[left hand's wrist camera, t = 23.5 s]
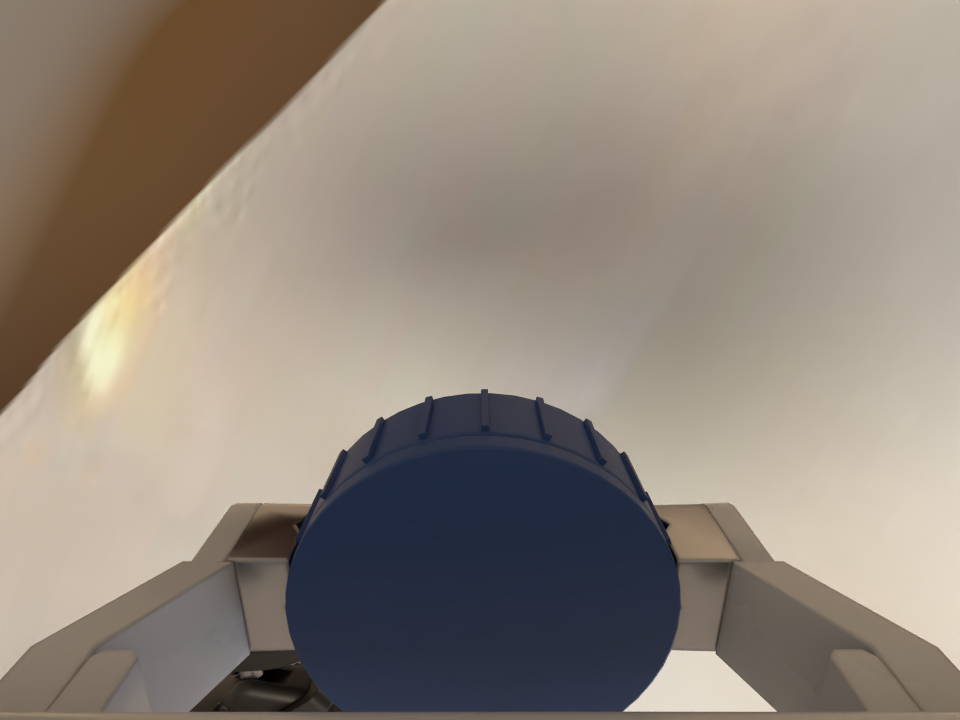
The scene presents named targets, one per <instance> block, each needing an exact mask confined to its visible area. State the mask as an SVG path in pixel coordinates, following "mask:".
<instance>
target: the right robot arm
mask: <svg viewBox="0 0 960 720" xmlns="http://www.w3.org/2000/svg"><path fill="white" fill-rule="evenodd" d="M298 661H300V659H299V657H298V655H297V653H296V651H295V650H275V651H250V655H249V656H247V657H246V658H245V659H244V660H243V661H242V662H241V663H240V664H239V665H238V666H237V667H236V668H235V669H234V670H233V671H232V672H230V673H229V674H228V675H227V676H226V677H225V678H224V679H223V680H222V681H221V682H220V683H219V684H218V685H217V686H216V687H215V688H214V689H212V690H211V691H210V692H209V693H208V694H207V695H206V696H205V697H204V698H203V699H202V700H201V701H200V702H199V703H198V704H197V705H196V706H194V707H193V708H192V709H191V710H190V711H189V712H343V711H342V710H341V709H340V708H338V707H337V706H336V705H335V704H334V703H332V702H331V701H330V700H329V699H328V697H327V696H326V695H325V694H324V693H323V692H322V691H321V690H320V689H319V688H318V687H317V686H316V684H315V683H314V681H313V680H312V679H311V677H310V676H309V675H308V673H307V672H306V670H305V669H304V667H303V665H302V663H301V664H298V663H297V664H295V665H289V664H292V663H295V662H298Z"/></svg>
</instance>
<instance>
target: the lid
mask: <svg viewBox="0 0 960 720" xmlns="http://www.w3.org/2000/svg"><path fill="white" fill-rule="evenodd" d="M295 541H296V542H299V544H298V547H297V549H296V551H295V554H294V557H293V560H292V563H291V566H290V569H289V572H288V579H287V585H286V591H285V600H286V617H287V623H288V629H289V634H290V637H291V640H292V643H293V645H294V648H295V651H296V653H297V655H298V657H299V659H300V661H301V663H302V665H303V667H304V669H305V670H306V672H307V673H308V675H309V676H310V677H311V679H312V680H313V681H314V683H315V684H316V686H317V687H318V688H319V689H320V690H321V691H322V692H323V693H324V694H325V695H326V696H327V697H328V699H329V700H330V701H331V702H332V703H334V704H335V705H336V706H337V707H338V708H340V709H341V710H342V711H343V712H623V711H624V710H625V709H626V708H627V707H629V706H630V705H631V704H632V703H633V702H634V701H635V700H637V699H638V698H639V697H640V695H641V694H642V693H643V692H644V691H645V690H646V689H647V688H648V686H649V685H650V684H651V683H652V682H653V680H654V679H655V677H656V676H657V674H658V673H659V671H660V670H661V668H662V667H663V665H664V663H665V661H666V659H667V657H668V655H669V653H670V651H671V649H672V646H673V643H674V640H675V636H676V633H677V630H678V625H679V617H680V610H681V594H680V582H679V577H678V573H677V568H676V564H675V561H674V559H673V556H672V554H671V551H670V549H669V546H668V545H671V544H672V543H671V540H670V538H669V535H668V533H667V531H666V529H665V527H664V525H663V523H662V521H661V519H660V517H659V515H658V513H657V511H656V509H655V507H654V505H653V503H652V501H651V499H650V497H649V495H648V493H647V492H645V491H644V489H643V486H642V484H641V482H640V480H639V478H638V476H637V474H636V472H635V470H634V468H633V466H632V464H631V462H630V460H629V458H628V455H627V454H626V453H625V452H622V453H621V454H620V453H619V452H618V451H617V450H616V448H615V447H614V446H613V445H612V444H611V443H610V442H609V441H608V440H606V439H605V438H604V437H603V436H602V435H601V434H600V433H599V432H598V431H596V430H595V429H594V427H593V424H592V422H591V421H590V420H588V419H585V421H584V422H583V421H582V420H580V419H579V418H577V417H575V416H573V415H571V414H569V413H567V412H565V411H563V410H561V409H559V408H556V407H553V406H550V405H548V404H545V403H544V400H543V398H540V397H537V398H536V400H531V399H527V398H522V397H518V396H512V395H503V394H493V393H488V390H487V389H481V393H480V394H462V395H455V396H447V397H442V398H438V399H435V400H433V398H432V396H429V397H426V399H425V402H423V403H420V404H417V405H415V406H413V407H410V408H408V409H405V410H403V411H400V412H398V413H396V414H395V415H393V416H391V417H389V418H388V419H386V420H384V419H383V418H382V417H381V418H379V419H377V421H376V424H375V426H374V428H372V429H371V430H370V431H368V432H367V433H366V434H364V435H363V436H362V437H361V438H360V439H359V440H358V441H357V442H356V443H355V444H354V445H353V446H352V447H351V448H350V449H349V450H348V451H345V450H344V449H343V450H342V451H341V452H340V454H339V456H338V458H337V460H336V462H335V465H334V467H333V469H332V471H331V473H330V475H329V477H328V479H327V482H326V484H325V486H324V488H323V490H321V489H319V491H318V493H317V495H316V497H315V499H314V501H313V503H312V505H311V507H310V509H309V512H308V514H307V516H306V518H305V520H304V522H303V524H302V526H301V528H300V530H299V532H298V535H297V537H296V540H295Z"/></svg>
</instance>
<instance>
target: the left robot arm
mask: <svg viewBox="0 0 960 720" xmlns="http://www.w3.org/2000/svg"><path fill="white" fill-rule="evenodd" d="M311 505H312V504H274V503H264V504H262V503H237V504H234V505H232V506H231V507H230V508H229V509H228V511H227V512H226V514H225V515H224V516H223V518H222V519H221V521H220V522H219V523H218V525H217V526H216V528H215V529H214V530H213V532H212V533H211V535H210V536H209V537H208V539H207V540H206V542H205V543H204V544H203V546H202V547H201V549H200V550H199V551H198V553H197V554H196V556H195V557H194V559H193V560H192V561H188V562H181V563H179V564H177V565H176V566H174V567H172V568H170V569H168V570H167V571H165V572H163V573H161V574H160V575H158V576H156V577H154V578H152V579H151V580H149V581H147V582H145V583H143V584H142V585H140V586H138V587H136V588H135V589H133V590H131V591H129V592H127V593H126V594H124V595H122V596H120V597H119V598H117V599H115V600H113V601H111V602H110V603H108V604H106V605H104V606H102V607H101V608H99V609H97V610H95V611H94V612H92V613H90V614H88V615H86V616H85V617H83V618H81V619H79V620H77V621H76V622H74V623H72V624H70V625H69V626H67V627H65V628H63V629H61V630H60V631H58V632H56V633H54V634H52V635H51V636H49V637H47V638H45V639H44V640H42V641H40V642H38V643H36V644H35V645H33V646H31V647H30V648H29V649H28V650H27V651H26V653H25V654H24V655H23V656H22V657H21V658H20V659H19V660H18V661H17V662H16V664H15V665H14V666H13V667H12V668H11V669H10V670H9V671H8V672H7V673H6V674H5V676H4V677H3V678H2V679H1V680H0V720H960V671H959V670H958V669H957V668H956V667H955V665H954V664H953V663H952V662H951V661H950V660H949V659H948V658H947V657H946V656H945V655H944V654H943V652H942V651H941V650H940V649H939V648H938V647H936V646H934V645H933V644H931V643H929V642H927V641H925V640H924V639H922V638H920V637H918V636H916V635H915V634H913V633H911V632H909V631H907V630H906V629H904V628H902V627H900V626H898V625H897V624H895V623H893V622H891V621H889V620H888V619H886V618H884V617H882V616H880V615H879V614H877V613H875V612H873V611H871V610H870V609H868V608H866V607H864V606H862V605H861V604H859V603H857V602H855V601H854V600H852V599H850V598H848V597H846V596H845V595H843V594H841V593H839V592H837V591H836V590H834V589H832V588H830V587H828V586H827V585H825V584H823V583H821V582H819V581H818V580H816V579H814V578H812V577H810V576H809V575H807V574H805V573H803V572H801V571H800V570H798V569H796V568H794V567H792V566H791V565H789V564H787V563H785V562H778V561H774V560H773V558H772V557H771V556H770V554H769V553H768V552H767V550H766V549H765V547H764V546H763V545H762V543H761V542H760V541H759V539H758V538H757V537H756V535H755V534H754V532H753V531H752V530H751V528H750V527H749V526H748V524H747V523H746V522H745V520H744V519H743V517H742V516H741V515H740V513H739V512H738V511H737V509H736V508H735V507H734V506H733V505H732V504H730V503H708V504H688V505H654V507H655V509H656V511H657V513H658V515H659V517H660V519H661V521H662V523H663V525H664V527H665V529H666V531H667V533H668V535H669V538H670V540H671V543H672V544H671V545H668V546H669V549H670V551H671V554H672V556H673V559H674V561H675V564H676V568H677V573H678V577H679V582H680V594H681V610H680V617H679V625H678V630H677V633H676V636H675V640H674V643H673V646H672V649H671V650H689V651H716V654H717V655H718V656H719V657H720V658H721V659H722V660H723V661H724V662H725V663H726V664H727V665H728V666H729V667H730V668H731V669H733V670H734V671H735V672H736V673H737V674H738V675H739V676H740V677H741V678H742V679H743V680H744V681H745V682H746V683H748V684H749V685H750V686H751V687H752V688H753V689H754V690H755V691H756V692H757V693H758V694H759V695H760V696H761V697H762V698H764V699H765V700H766V701H767V702H768V703H769V704H770V705H771V706H772V707H773V708H774V709H775V710H776V711H777V712H189V711H190V710H191V709H192V708H193V707H194V706H196V705H197V704H198V703H199V702H200V701H201V700H202V699H203V698H204V697H205V696H206V695H207V694H208V693H209V692H210V691H211V690H212V689H214V688H215V687H216V686H217V685H218V684H219V683H220V682H221V681H222V680H223V679H224V678H225V677H226V676H227V675H228V674H229V673H230V672H232V671H233V670H234V669H235V668H236V667H237V666H238V665H239V664H240V663H241V662H242V661H243V660H244V659H245V658H246V657H247V656H249V655H250V651H275V650H295V648H294V645H293V643H292V640H291V637H290V634H289V629H288V623H287V617H286V600H285V591H286V585H287V579H288V572H289V569H290V566H291V563H292V560H293V557H294V554H295V551H296V549H297V547H298V544H299V542H296V541H295V540H296V537H297V535H298V532H299V530H300V528H301V526H302V524H303V522H304V520H305V518H306V516H307V514H308V512H309V509H310V507H311Z"/></svg>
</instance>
